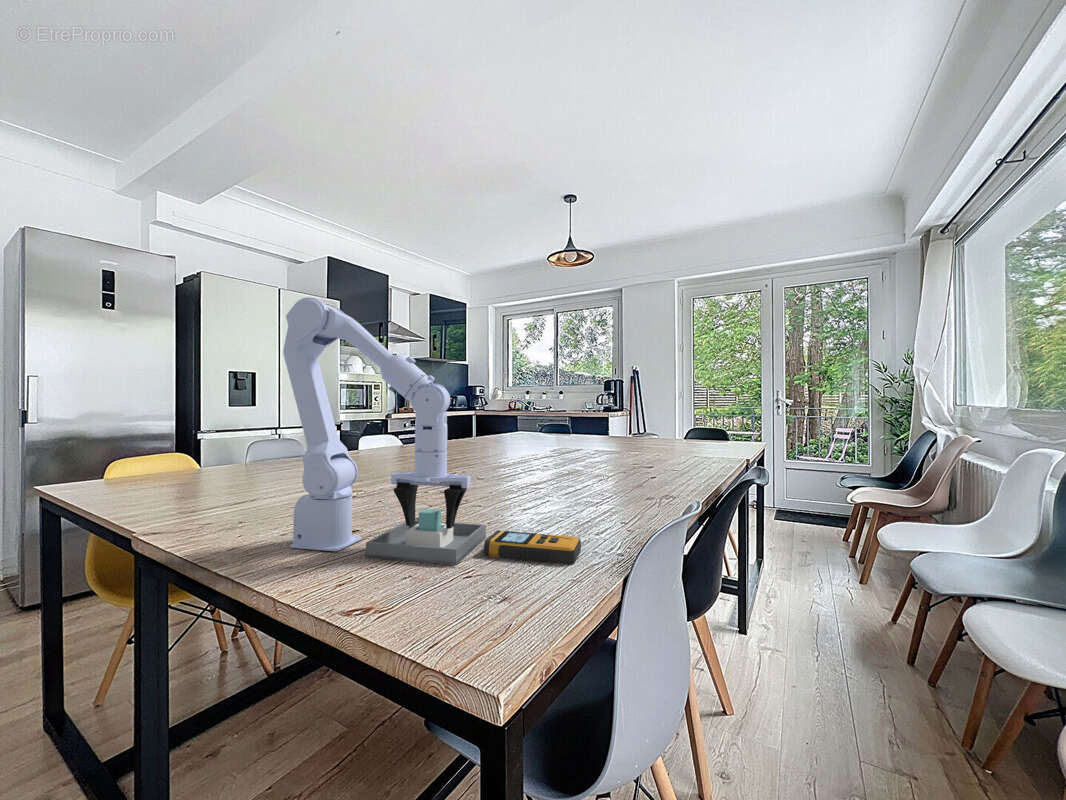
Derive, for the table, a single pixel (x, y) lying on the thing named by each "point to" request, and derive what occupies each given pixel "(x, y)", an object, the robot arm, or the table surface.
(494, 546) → the electronic device
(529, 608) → the table surface
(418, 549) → the socket box
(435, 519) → the plug peg
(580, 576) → the table surface
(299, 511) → the robot arm
